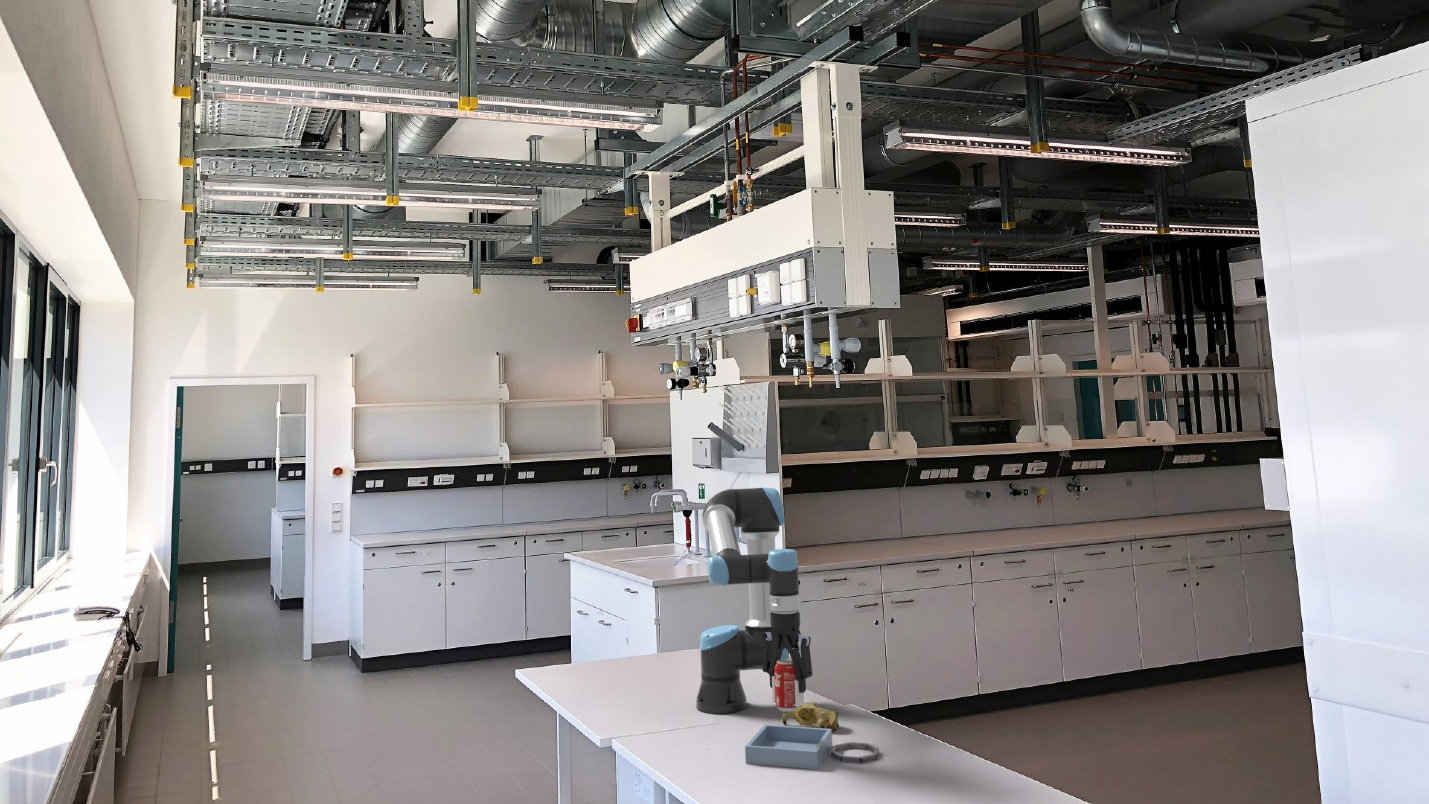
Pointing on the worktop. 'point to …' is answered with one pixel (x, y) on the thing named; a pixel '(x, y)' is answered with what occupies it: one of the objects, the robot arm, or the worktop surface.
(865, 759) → the ring
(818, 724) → the animal skull
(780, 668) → the beverage can
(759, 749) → the bin
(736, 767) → the worktop surface
